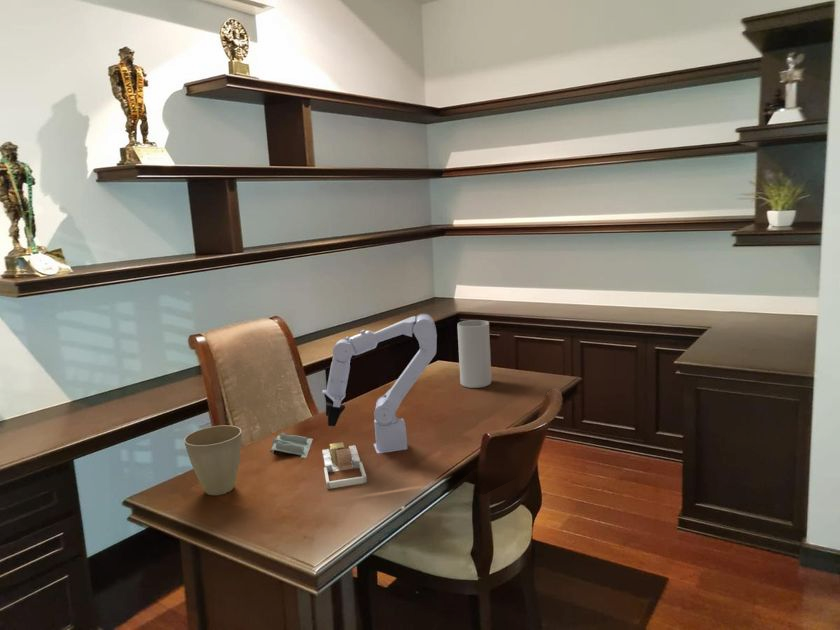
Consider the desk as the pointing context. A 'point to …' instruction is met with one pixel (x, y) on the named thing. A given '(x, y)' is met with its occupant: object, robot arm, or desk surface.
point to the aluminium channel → (333, 465)
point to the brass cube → (333, 450)
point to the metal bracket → (292, 444)
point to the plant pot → (215, 457)
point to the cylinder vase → (474, 353)
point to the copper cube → (344, 458)
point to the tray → (346, 481)
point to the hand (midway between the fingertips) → (330, 420)
